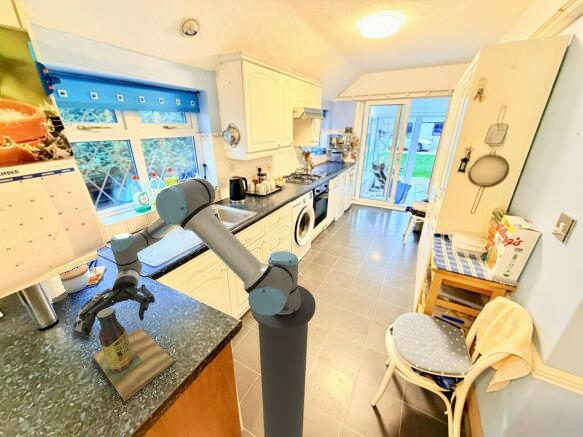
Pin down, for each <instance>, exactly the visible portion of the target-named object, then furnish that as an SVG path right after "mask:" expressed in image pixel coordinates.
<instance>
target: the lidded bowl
mask: <svg viewBox="0 0 583 437" xmlns="http://www.w3.org/2000/svg"><path fill="white" fill-rule="evenodd" d="M83 264H84V265H82V266H80V267H78V268H75V269H73V270H71V271H68V272H66V273H63V274H61V275H60V277H61V281H62V285H63V286H64V289H65V290H66V291H67V292H66V293H69V294H71V293H76V292H80V291H82V290H83V289H84V288H86V286H87V285H88V283H89V282H90V280H91V279H90V278H91V273H90V269H89V266H88V264H86V263H83Z"/></svg>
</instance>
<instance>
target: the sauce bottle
mask: <svg viewBox="0 0 583 437" xmlns="http://www.w3.org/2000/svg"><path fill="white" fill-rule="evenodd" d="M96 319H97V321H99V325H100V330H99V333H98V339H99V343H100V347H101V351H102V350H103V353H104V356H105V359H106V362H107V365H108V367H109V368H110V371H111V372H114V373H117V372H121V371H123V370H125V369H126V368H128V367H129V366H130V364H131V363H132V361H133V353H132V350H131V346H130V343H129V340H128V336H127V335H128V334H127V330H126V328H125V327H124V326H123V325H122V324H121V323H120V322H119V321H118V319H117V315H116V310H115V308H114V307H109V308H106V309H103V310H101V311H100V312H99V313H98V314H97V316H96Z"/></svg>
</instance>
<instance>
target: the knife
mask: <svg viewBox="0 0 583 437" xmlns="http://www.w3.org/2000/svg"><path fill="white" fill-rule="evenodd" d="M112 288H113V287H112ZM112 288H111V287H110V288H106V289H104V290H102V291H99V292H96V293H95V294H94V295H93V296H92V297H91V298H90V299H88V300H87V301H86V302H85V303H83V305H82V306H81V307H80V308H79V309H78V311H77V313H78V315H77V317H76V318H75V319H74V321H75V324H76V326H75V328H74V329H73V331H74V333H75V334H76V335H78V336H81V337H86V338H88V337H92V334H91V333H90V335H87V336H86V334H85V331H84V329H83V328H84V326H85V325H84V323H83V322H84V321H82V319H81V316H80V313H81V312H82V311H83V310H84V309H86V308H87V307H88V306H89V305H90V304H91V303H93V302H94V301H95V300H96V299H97V298H98V297H99V295H100V294H105V293H106V292H112ZM109 294H110V293H108V294H107V295H109Z"/></svg>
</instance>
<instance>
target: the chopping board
mask: <svg viewBox="0 0 583 437" xmlns="http://www.w3.org/2000/svg"><path fill="white" fill-rule="evenodd" d="M127 336H128V340H129V343H130V346H131V350H132V353H133V361H132V363H131V364H130V366H129V367H128V368H126V369H125V370H123V371H121V372H117V373H114V372H111V371H110V368H109V367H108V365H107V362H106V359H105V356H104V353H103V350H102V349H101V350H100V351H98V352H97V353H95V354H94V355H93V358H94V360H95V362H96V363H97V365H98V366H99V367H100V369H101V370H102V372H103V373H104V375H105V376H106V378H107V379H108V380H109V382H110V383H111V384H112V386H113V388H114V389H115V390H116V392H117V393H118V395H119V397H121V399H122V400H123V402H126V401H128V400H129V399H131V398H132V397H133V396H134V395H135V394H137V393H138V392H140V390H142V389H143V388H144V387H146V386H147V385H148V384H149V383H151V382H152V381H153V380H154V379H155V378H157V377H158V376H159V375H160V374H162V373H163V372H164V371H165V370H167V369H168V368H169V367H171V366H172V365H173V364H174V359H173V358H172V357H171V356H170V355H169V354H168V353H167V352H166V351H165V350H164V349H163V348H162V347H161V346H160V345H159V344H158V343H157V342H156V341H155V340H154V339H153V338H152V337H151V336H150V335H149V334H147V333H146V331H145V330H144V329H143V328H141V327H138V328H136V329H135V330H133V331H131V332H130V333H128V334H127Z"/></svg>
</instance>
